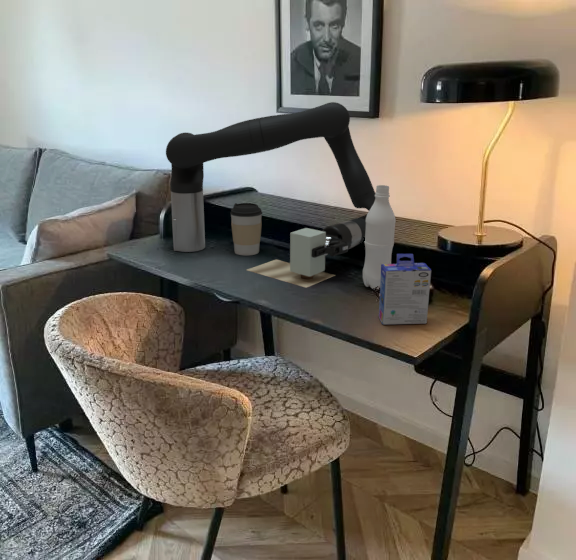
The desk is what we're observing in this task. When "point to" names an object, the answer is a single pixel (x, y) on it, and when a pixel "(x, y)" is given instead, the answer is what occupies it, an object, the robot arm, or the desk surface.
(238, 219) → the coffee cup
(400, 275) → the ink cartridge box
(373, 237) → the water bottle
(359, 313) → the desk surface
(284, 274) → the oak board
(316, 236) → the pale upright block
